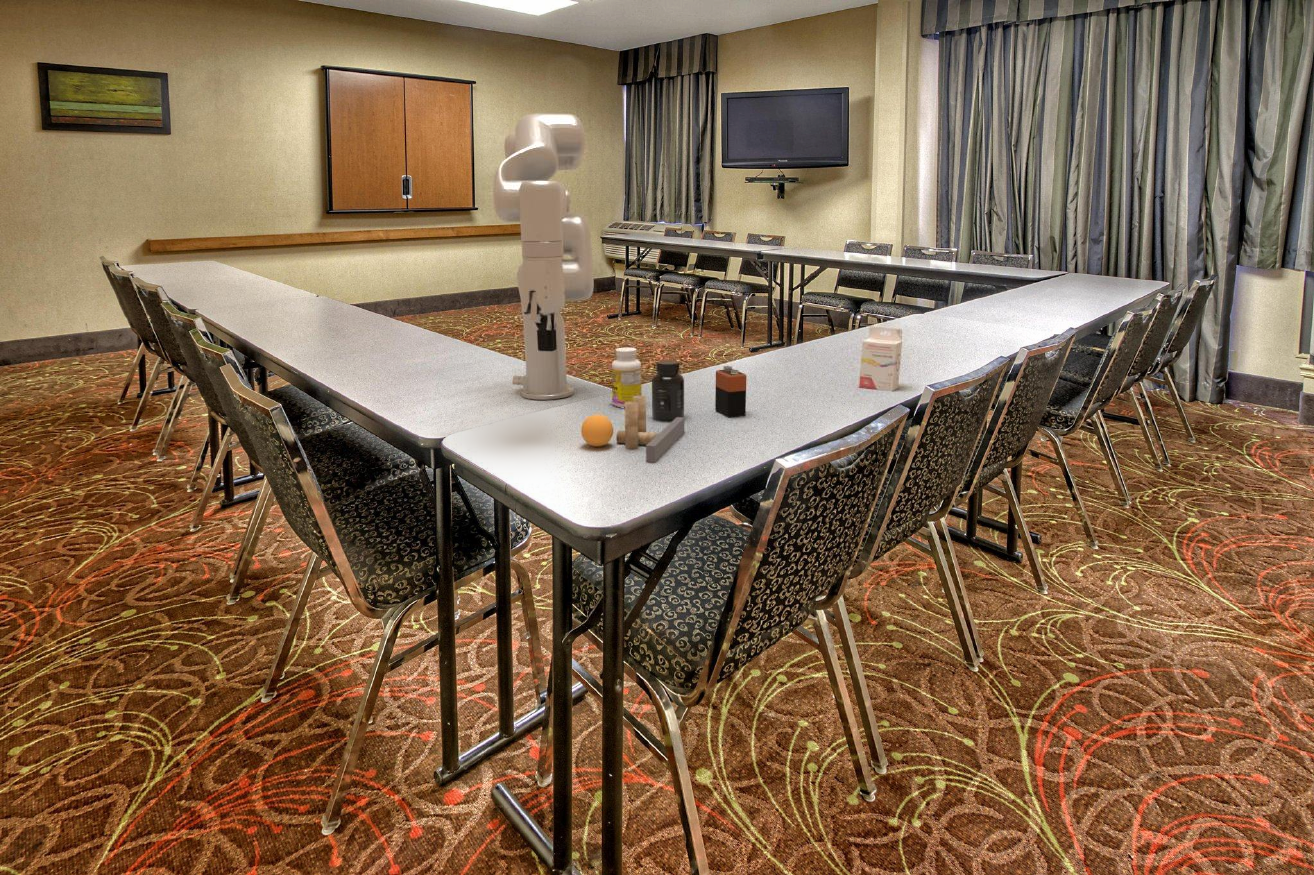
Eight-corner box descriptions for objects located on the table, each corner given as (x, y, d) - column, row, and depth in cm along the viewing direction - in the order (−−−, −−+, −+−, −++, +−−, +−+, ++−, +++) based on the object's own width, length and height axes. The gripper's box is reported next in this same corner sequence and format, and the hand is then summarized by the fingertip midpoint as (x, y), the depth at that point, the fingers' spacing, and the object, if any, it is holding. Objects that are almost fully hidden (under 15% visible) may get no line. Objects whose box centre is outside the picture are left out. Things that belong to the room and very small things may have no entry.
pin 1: (623, 448, 145) (622, 404, 143) (627, 445, 148) (627, 401, 145) (635, 449, 145) (635, 405, 142) (640, 446, 147) (639, 402, 145)
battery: (732, 409, 174) (733, 364, 171) (746, 416, 167) (747, 370, 165) (714, 410, 172) (714, 366, 169) (728, 418, 166) (729, 372, 163)
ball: (608, 453, 145) (585, 452, 148) (624, 431, 148) (602, 430, 152) (592, 430, 141) (569, 430, 145) (609, 407, 144) (586, 407, 148)
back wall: (646, 461, 138) (646, 445, 137) (676, 431, 156) (676, 417, 155) (654, 462, 137) (654, 446, 137) (684, 432, 156) (684, 417, 155)
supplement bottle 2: (645, 418, 166) (645, 363, 162) (663, 412, 171) (663, 357, 168) (672, 423, 162) (672, 366, 159) (690, 416, 168) (690, 361, 164)
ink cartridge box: (858, 387, 193) (862, 328, 189) (864, 384, 197) (868, 325, 193) (892, 391, 188) (897, 330, 184) (898, 388, 192) (903, 328, 188)
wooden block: (616, 432, 148) (659, 435, 145) (620, 428, 150) (662, 432, 148) (616, 444, 148) (659, 448, 146) (620, 440, 151) (663, 444, 148)
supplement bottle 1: (612, 402, 180) (610, 346, 177) (640, 401, 181) (640, 346, 177) (612, 409, 174) (611, 352, 170) (642, 408, 174) (641, 351, 171)
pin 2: (632, 441, 150) (631, 398, 148) (636, 437, 152) (635, 395, 150) (644, 442, 149) (643, 398, 147) (648, 438, 152) (647, 396, 149)
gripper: (541, 249, 151) (545, 343, 157) (505, 253, 138) (511, 356, 143) (577, 249, 149) (580, 344, 154) (544, 253, 136) (549, 358, 141)
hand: (547, 350), depth 149 cm, fingers closed
